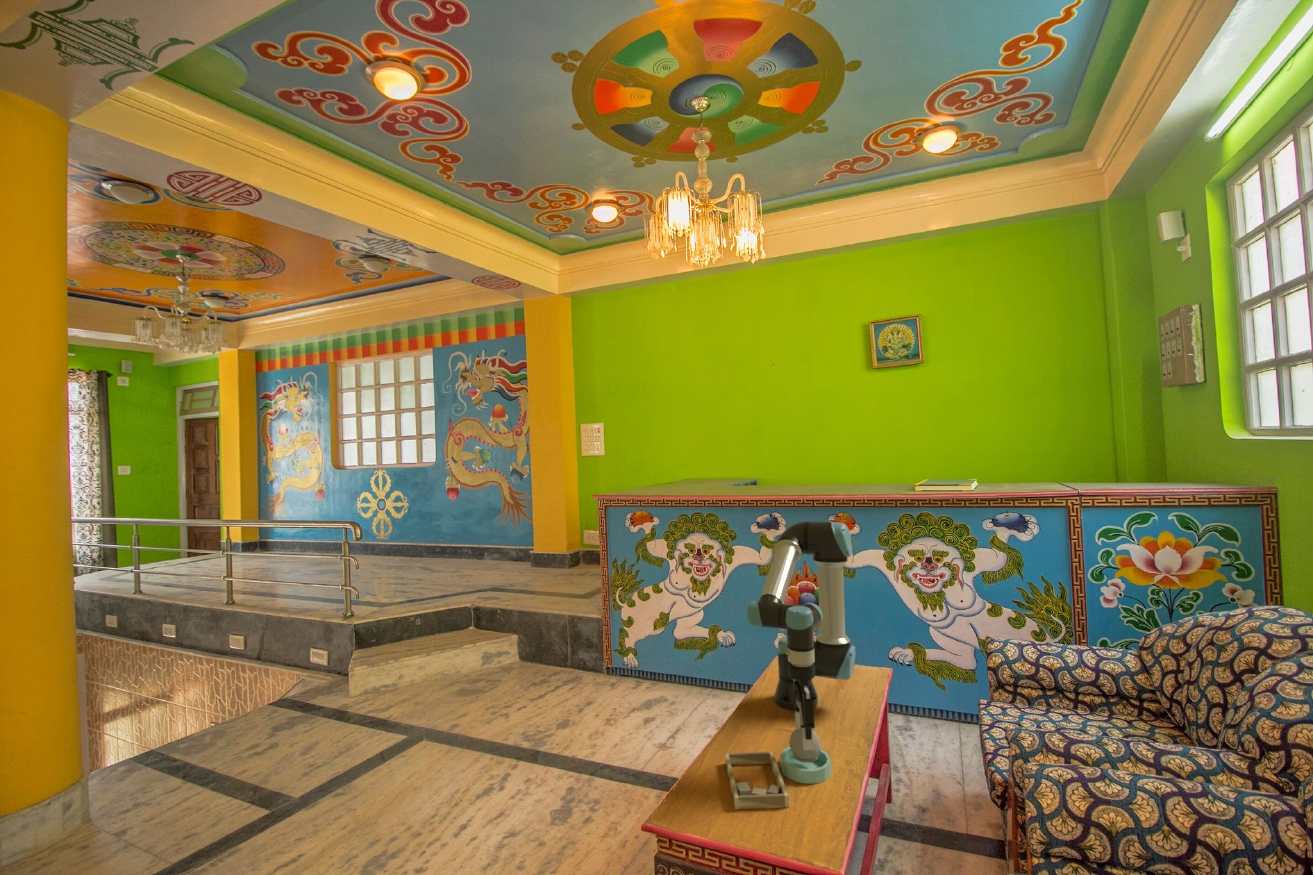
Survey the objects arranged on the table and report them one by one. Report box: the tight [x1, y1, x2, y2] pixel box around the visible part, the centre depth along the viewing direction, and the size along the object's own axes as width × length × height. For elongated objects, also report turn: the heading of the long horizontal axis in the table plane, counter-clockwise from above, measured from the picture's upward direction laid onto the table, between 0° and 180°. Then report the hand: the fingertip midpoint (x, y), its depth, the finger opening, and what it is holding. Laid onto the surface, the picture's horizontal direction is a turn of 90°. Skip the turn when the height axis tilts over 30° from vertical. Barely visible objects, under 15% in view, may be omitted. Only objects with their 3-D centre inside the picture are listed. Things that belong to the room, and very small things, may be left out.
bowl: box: [779, 746, 832, 785], centre depth 173 cm, size 14×14×4 cm
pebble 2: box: [767, 784, 781, 794], centre depth 161 cm, size 4×2×2 cm
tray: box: [724, 750, 790, 810], centre depth 167 cm, size 22×14×3 cm, turn 0°
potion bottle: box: [788, 697, 821, 763], centre depth 173 cm, size 9×9×18 cm
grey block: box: [735, 781, 752, 795], centre depth 163 cm, size 4×3×2 cm
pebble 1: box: [751, 787, 768, 795], centre depth 160 cm, size 4×3×2 cm
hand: (804, 741), depth 173 cm, fingers closed on potion bottle, 8 cm apart
